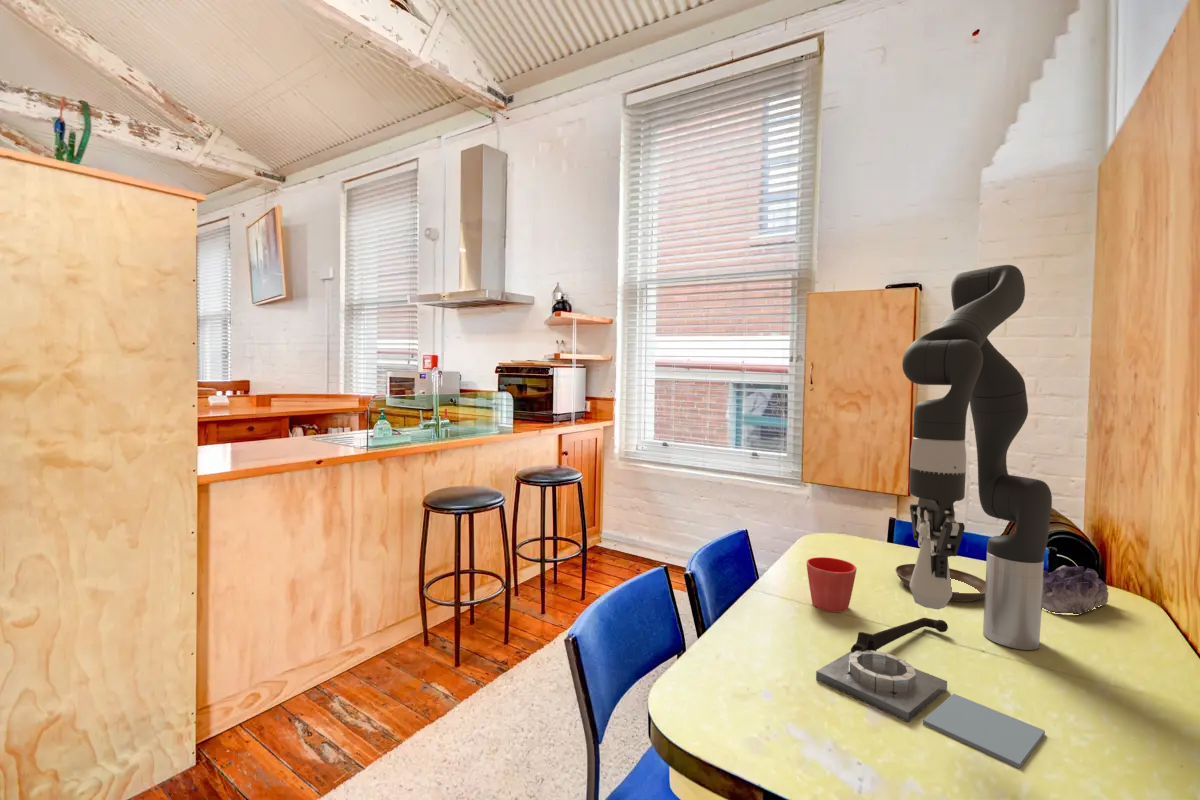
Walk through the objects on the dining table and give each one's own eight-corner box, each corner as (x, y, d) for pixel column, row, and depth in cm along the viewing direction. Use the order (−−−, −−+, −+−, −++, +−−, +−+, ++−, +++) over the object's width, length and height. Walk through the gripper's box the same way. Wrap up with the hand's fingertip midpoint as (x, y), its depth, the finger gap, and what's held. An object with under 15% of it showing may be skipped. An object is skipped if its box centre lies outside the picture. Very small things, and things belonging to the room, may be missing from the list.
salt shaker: (958, 608, 87) (965, 526, 87) (937, 614, 84) (944, 529, 84) (921, 594, 92) (927, 517, 92) (900, 600, 90) (906, 520, 89)
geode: (1088, 626, 121) (1082, 579, 121) (1025, 613, 131) (1020, 570, 131) (1119, 603, 132) (1113, 561, 133) (1059, 594, 142) (1054, 554, 142)
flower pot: (804, 610, 125) (805, 567, 125) (805, 593, 135) (807, 554, 135) (856, 619, 121) (857, 575, 121) (853, 601, 131) (855, 560, 131)
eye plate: (858, 654, 105) (859, 636, 105) (946, 689, 93) (947, 669, 93) (816, 679, 96) (816, 659, 96) (908, 722, 84) (909, 699, 84)
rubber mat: (953, 697, 91) (953, 693, 91) (1044, 734, 82) (1044, 730, 82) (922, 723, 84) (923, 719, 84) (1019, 768, 74) (1019, 763, 74)
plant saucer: (988, 586, 144) (989, 573, 144) (993, 613, 127) (993, 599, 126) (898, 570, 155) (898, 558, 155) (891, 593, 138) (891, 579, 138)
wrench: (950, 641, 114) (875, 674, 96) (923, 633, 118) (847, 664, 100) (949, 614, 114) (875, 642, 97) (923, 608, 118) (847, 634, 101)
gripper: (987, 475, 80) (982, 594, 81) (941, 461, 94) (937, 562, 95) (932, 473, 81) (927, 590, 82) (894, 460, 95) (890, 559, 96)
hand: (932, 574), depth 88 cm, fingers closed on salt shaker, 3 cm apart
